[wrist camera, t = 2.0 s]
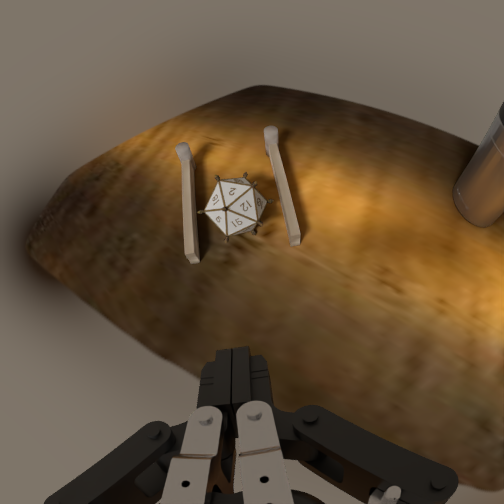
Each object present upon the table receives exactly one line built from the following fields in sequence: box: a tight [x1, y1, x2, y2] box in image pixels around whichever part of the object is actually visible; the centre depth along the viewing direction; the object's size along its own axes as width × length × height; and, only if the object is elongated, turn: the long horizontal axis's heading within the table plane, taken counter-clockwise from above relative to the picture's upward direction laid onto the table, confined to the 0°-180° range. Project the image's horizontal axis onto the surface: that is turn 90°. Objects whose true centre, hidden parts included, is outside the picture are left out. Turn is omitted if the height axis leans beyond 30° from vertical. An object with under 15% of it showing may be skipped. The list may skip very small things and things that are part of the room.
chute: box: [175, 126, 301, 264], centre depth 42 cm, size 15×18×5 cm
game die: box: [197, 172, 274, 243], centre depth 40 cm, size 9×8×10 cm
